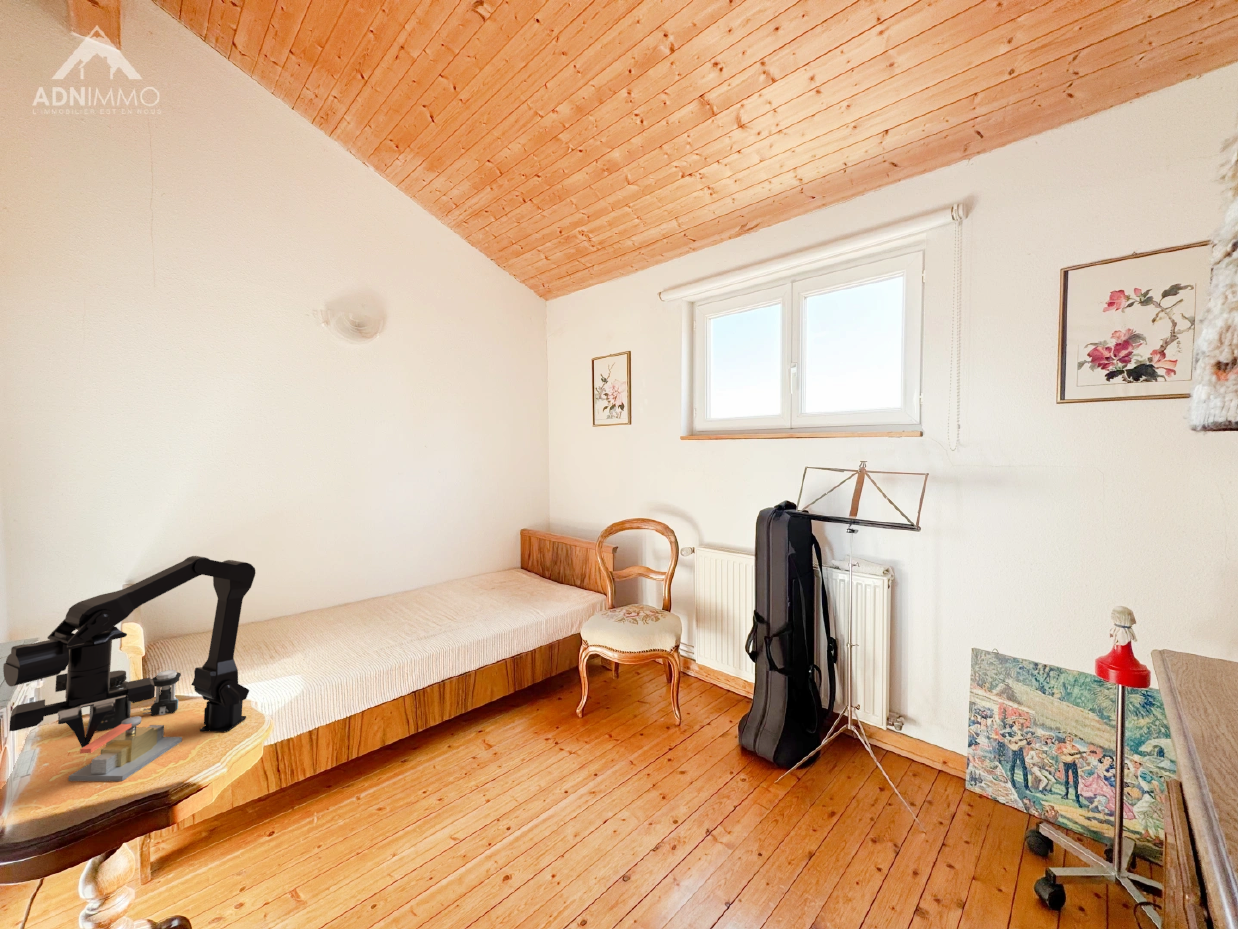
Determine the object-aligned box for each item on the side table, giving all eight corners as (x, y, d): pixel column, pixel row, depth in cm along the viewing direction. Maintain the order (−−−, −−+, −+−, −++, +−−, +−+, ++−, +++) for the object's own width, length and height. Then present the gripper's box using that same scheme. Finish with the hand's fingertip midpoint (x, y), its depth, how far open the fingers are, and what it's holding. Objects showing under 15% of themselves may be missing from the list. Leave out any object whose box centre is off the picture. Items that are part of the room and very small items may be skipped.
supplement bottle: (98, 720, 116) (101, 670, 117) (135, 715, 119) (138, 666, 119) (81, 734, 110) (84, 682, 110) (121, 729, 113) (124, 677, 113)
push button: (138, 720, 117) (141, 679, 117) (147, 710, 122) (149, 671, 122) (174, 715, 120) (176, 675, 120) (181, 705, 125) (184, 667, 125)
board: (181, 741, 109) (182, 737, 109) (122, 781, 95) (122, 776, 95) (135, 741, 109) (135, 736, 109) (68, 781, 95) (68, 776, 95)
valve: (168, 740, 109) (170, 711, 109) (111, 777, 96) (113, 744, 96) (145, 740, 108) (146, 711, 108) (84, 777, 95) (86, 744, 95)
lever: (128, 721, 103) (129, 716, 103) (145, 720, 104) (145, 716, 104) (76, 754, 91) (76, 749, 91) (94, 753, 92) (94, 748, 92)
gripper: (151, 643, 107) (147, 714, 106) (16, 666, 93) (11, 748, 92) (157, 658, 99) (152, 733, 99) (11, 685, 85) (6, 774, 85)
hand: (84, 745), depth 94 cm, fingers closed
